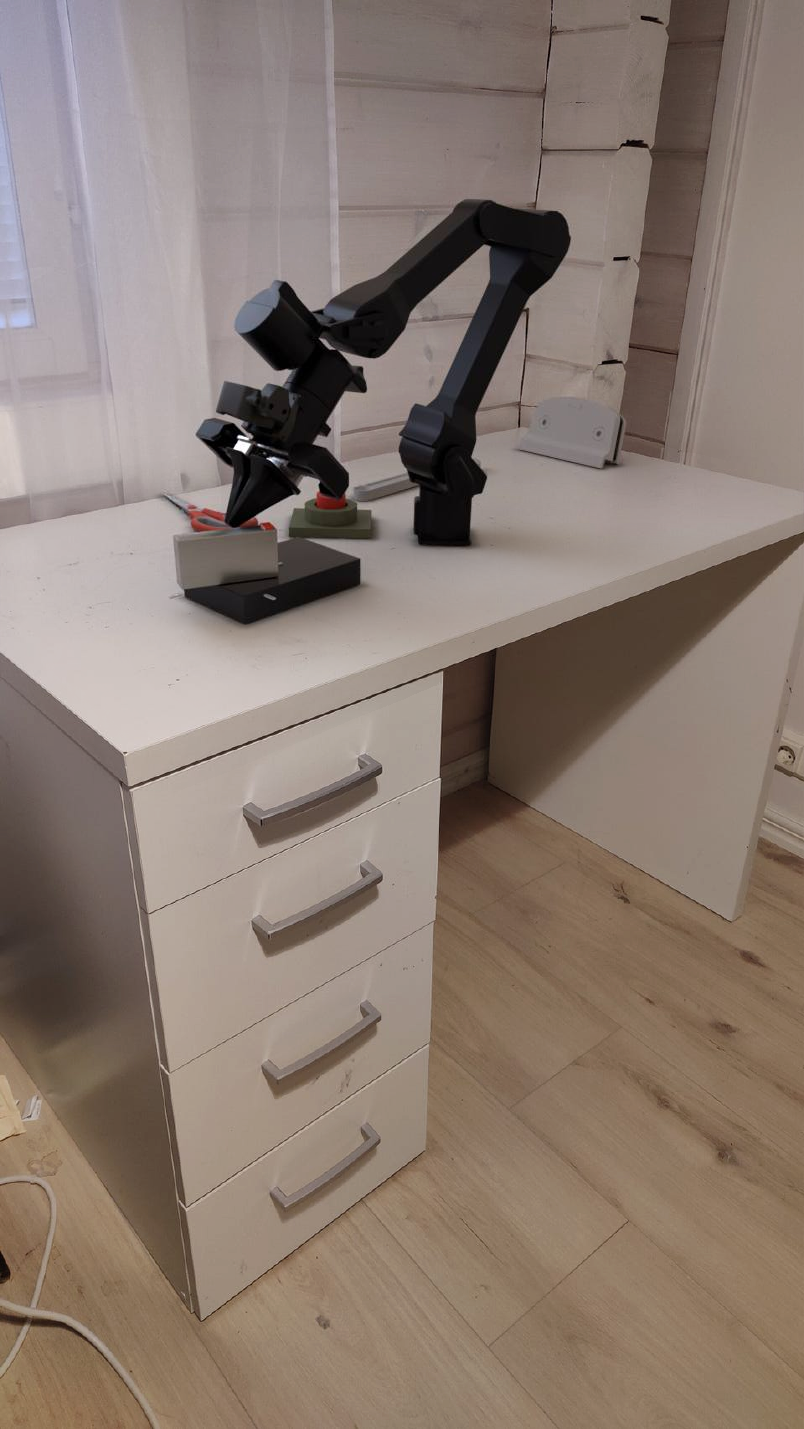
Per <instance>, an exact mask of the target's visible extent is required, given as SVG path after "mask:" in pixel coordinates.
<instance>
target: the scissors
mask: <svg viewBox="0 0 804 1429" xmlns="http://www.w3.org/2000/svg"><path fill="white" fill-rule="evenodd" d="M162 495H164V496H165V497H166V498H167V499H168V500H170V501H171V502H172V503H174V504H176V505H177V506H178V507H180V508H181V509H182V510H183V512H186V514H188V517H189V518H190V520H191V521H190V526H191V528H192V529H193V530H194V531H196V532H204V531H212V530H221V529H230V528H231V527H229V526H228V525H226V524H225V522H224V520H225V516H226V512H220V511H216V510H213V509H209V508H207V507H204V508H202V509H201V508H199V507H197V506H196V505H193V504H189V503H187V502H185V501H183V500H180V499H178V498H176V497H174V496H172V495H170V494H169V495H168V494H166V493H163V492H162ZM257 525H259V520H258V519H257V518H256V516H255V517H253V518H251V519H250V520H248V521H247V522H245V523H243V524H242V525H240V526H239V527H248V526H257ZM239 527H237V528H239Z"/></svg>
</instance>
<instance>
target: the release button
mask: <svg viewBox="0 0 804 1429" xmlns="http://www.w3.org/2000/svg"><path fill="white" fill-rule="evenodd" d="M346 496H347V495H346V493H345V494H344V495H343V497H342V498H341V500H340V501H338V500H335V499H332V498H329V497H325V496H323V495H322V494H321V493H320V491H319V490H318V491H317V492H316V498H317V507H318V508H322V509H341V508H345V507H346V499H347V498H346Z"/></svg>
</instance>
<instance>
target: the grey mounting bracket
mask: <svg viewBox="0 0 804 1429" xmlns="http://www.w3.org/2000/svg"><path fill="white" fill-rule="evenodd" d="M534 412H535V413H534V414H533V417H532V421H531V422H530V425H529V427H528V428H527V429H528V430H527V432H526V434H525V435H523V436H522V437H521V439H520V442H519V446H518V450H520V451H523V452H527V453H528V452H529V453H532V454H537V455H541V456H546V457H550V458H555V459H559V460H563V461H568V462H572V463H575V464H579V465H584V466H587V467H592V468H597V469H603V468H604V465H605V462H607V463H611V464H617V465H619V464H620V460H621V454H622V450H623V444H624V443H623V442H624V439H625V438H624V437H625V433H626V428H627V421H626V419H625V418H624V416H623V415H622V414H620V413H619V412H618V411H616V410H614V409H613V408H611V407H609V406H607V405H606V404H603V403H602V402H599V401H596V400H594V399H589V398H585V397H577V396H554V397H549V398H545V399H542V400H540V402H539V403H538V404H537V406H536V410H535V411H534Z"/></svg>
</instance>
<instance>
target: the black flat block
mask: <svg viewBox="0 0 804 1429" xmlns="http://www.w3.org/2000/svg"><path fill="white" fill-rule="evenodd" d="M361 563H362V560H361V558H359V557H357V556H354V555H351V554H348V553H345V552H343V551H340V550H337V549H335V548H331V547H328V546H326V545H323V544H321V543H317V542H315V541H312V540H309V539H307V538H305V537H292V538H290V539H285V540H282V541H279V542H278V570H279V576H278V577H272V578H265V579H257V580H250V581H242V582H235V583H228V584H220V585H213V586H205V587H198V588H191V589H183V593H182V592H179V593H175V594H172V595H169V596H168V598H169V599H171V600H172V599H176V598H178V597H181V596H184V598H185V599H188V600H191V601H192V602H195V603H197V604H199V605H201V606H204V607H206V608H208V609H210V610H213V611H215V612H217V613H219V614H221V615H223V616H225V617H228V618H230V619H232V620H235V621H237V622H239V623H241V624H243V625H248V624H251V623H254V622H256V621H260V620H262V619H265V618H268V617H270V616H274V615H277V614H279V613H283V612H285V611H288V610H291V609H294V608H298V607H300V606H303V605H307V604H309V603H313V602H314V601H317V600H320V599H324V598H326V597H329V596H332V595H335V594H338V593H340V592H343V591H346V590H349V589H352V588H355V587H358V586H361V571H362V570H361V568H362V567H361V566H362V565H361Z"/></svg>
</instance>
